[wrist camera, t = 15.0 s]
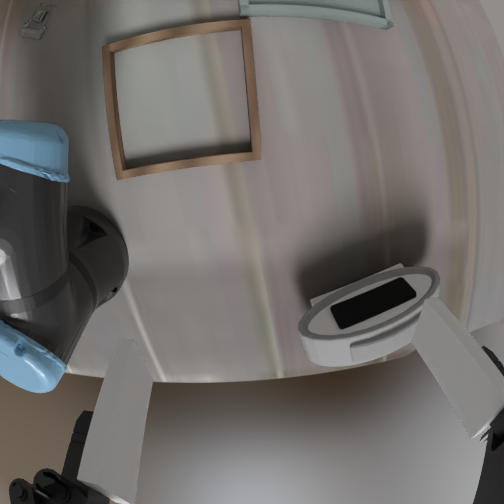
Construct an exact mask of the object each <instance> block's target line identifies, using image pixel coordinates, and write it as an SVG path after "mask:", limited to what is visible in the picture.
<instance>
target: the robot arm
mask: <svg viewBox="0 0 504 504" xmlns="http://www.w3.org/2000/svg"><path fill="white" fill-rule="evenodd" d="M68 152H69V140H68V136H67V134H66V132H65V131H64V130H63V129H62V128H61V127H60V126H58V125H55V124H50V123H42V122H32V121H18V120H0V375H1V376H2V377H4V378H5V379H7V380H8V381H9V382H11V383H13V384H15V385H16V386H18V387H21V388H23V389H25V390H28V391H31V392H36V393H44V392H48V391H51V390H53V389H54V388H55V386H56V385H57V383H58V381H59V380H60V378H61V377H62V375H63V373H64V372H65V371H66V369H67V367H66V366H67V364H68V362H69V359H70V357H71V355H72V353H73V351H74V349H75V347H76V345H77V343H78V341H79V339H80V337H81V335H82V333H83V331H84V329H85V327H86V325H87V323H88V321H89V319H90V317H91V315H92V313H93V311H94V310H95V309H97V308H98V307H100V306H101V305H103V304H104V303H106V302H107V301H108V300H110V299H111V298H113V297H114V296H115V295H116V294H117V292H118V291H119V290H120V288H121V286H122V284H123V282H124V280H125V278H126V276H127V272H128V265H129V260H128V253H127V249H126V245H125V243H124V240H123V238H122V236H121V235H120V233H119V231H118V230H117V229H116V227H115V226H114V225H113V224H112V223H111V222H110V221H109V220H108V219H107V218H106V217H105V216H103V215H102V214H100V213H99V212H97V211H95V210H93V209H90V208H87V207H81V206H73V207H68V208H67V196H68V182H69V181H70V175H69V174H68ZM411 342H412V344H413V345H414V347H415V348H416V349H417V351H418V352H419V354H420V355H421V357H422V358H423V360H424V361H425V363H426V365H427V366H428V368H429V369H430V371H431V372H432V374H433V375H434V377H435V378H436V380H437V381H438V383H439V385H440V387H441V388H442V390H443V391H444V393H445V395H446V396H447V398H448V400H449V401H450V403H451V405H452V406H453V408H454V410H455V412H456V413H457V415H458V417H459V419H460V420H461V422H462V424H463V426H464V428H465V429H466V431H467V433H468V435H469V437H470V439H471V438H473V437H475V436H476V435H478V434H480V433H481V432H482V431H483V430H484V429H485V428H486V427H487V426H488V425H489V424H490V426H491V428H490V429H489V430H488V431H487V432H486V433H485V434H484V435H483V436H482V437H481V440H480V442H482V441H483V440H484V439H485V438H486V437H487V436H488V438H487V439H486V440H485V441H484V442H485V443H487V446H486V452H485V457H484V462H483V467H482V472H481V476H480V480H479V484H478V488H477V492H476V495H475V499H474V502H473V504H504V367H503V365H502V363H501V362H500V361H498V358H497V357H496V356H495V355H494V353H493V352H492V351H490V350H489V349H488V348H486V347H485V346H483V347H480V345H479V344H478V343H477V342H476V341H475V339H474V338H473V337H472V336H471V335H470V333H469V332H468V331H467V330H466V329H465V328H464V326H463V325H462V324H461V323H460V322H459V321H458V320H457V318H456V317H455V316H454V315H453V314H452V313H451V312H450V311H449V310H448V308H447V307H446V306H445V305H444V304H443V303H442V302H441V301H440V300H439V299H438V298H437V297H432V298H428V299H425V301H424V304H423V307H422V311H421V314H420V317H419V320H418V323H417V326H416V329H415V332H414V335H413V337H412V340H411ZM152 383H153V378H152V376H151V374H150V372H149V370H148V368H147V366H146V364H145V361H144V359H143V357H142V355H141V353H140V351H139V349H138V346H137V344H136V342H135V340H134V339H118V342H117V345H116V347H115V350H114V353H113V356H112V358H111V361H110V364H109V367H108V370H107V373H106V375H105V378H104V381H103V384H102V388H101V391H100V394H99V397H98V400H97V404H96V407H95V410H94V412H92V411H83V413H82V414H81V415H80V416H79V418H78V419H77V421H76V424H75V427H74V433H73V434H72V437H71V442H70V444H69V448H68V451H67V455H66V459H65V463H64V467H63V471H62V474H61V475H60V474H58V473H57V472H55V471H54V470H52V469H48V468H46V469H42V470H40V471H39V472H37V474H36V475H35V477H34V482H33V484H30V483H28V482H27V481H25V480H24V479H20V478H18V479H15V480H14V481H12V483H11V485H10V487H9V494H10V501H11V504H109V501H110V499H111V500H113V501H115V502H116V503H121V504H135V502H136V491H137V482H138V473H139V464H140V457H141V450H142V443H143V435H144V429H145V423H146V417H147V411H148V405H149V399H150V394H151V389H152Z"/></svg>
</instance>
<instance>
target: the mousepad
mask: <svg viewBox="0 0 504 504" xmlns="http://www.w3.org/2000/svg"><path fill="white" fill-rule="evenodd" d="M40 5H48V4H40ZM40 5H39V6H40ZM50 6H56V5H50ZM56 7H57V6H56ZM56 7H55V8H56ZM38 8H39V7H38ZM38 8H37V10H38ZM55 8H54V10H55ZM37 10H36V11H37ZM54 10H53V11H54ZM36 11H35V13H36V14H35V13H34V15H35V16H34V15H33V16H34V17H33V16H32V18H33V19H34V20H33V21H35V22H41V21H42V18H43V17H44V15H45V13H46V12H47V11H44V10H39V11H37V12H36ZM52 13H53V12H52ZM52 13H51V15H52ZM46 14H47V13H46ZM51 15H50V16H51ZM32 18H31V20H32ZM49 18H50V17H49ZM49 18H48V20H49ZM31 20H30V21H31ZM48 20H47V21H48ZM30 21H28V23H25V24H24V26H23V29H22V30H21V31H20V36H25V37H30V38H35V39H40V38H41V37H42V35H43V33H44V31H45V29H46V27H45V25H46V24H45V25H44V26H42V28H41V30H40V31H39V30H34V29H28V28H27V27H28V25H29V23H30ZM41 23H42V22H41ZM46 23H47V22H46Z"/></svg>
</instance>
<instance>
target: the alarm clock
mask: <svg viewBox="0 0 504 504" xmlns="http://www.w3.org/2000/svg"><path fill="white" fill-rule="evenodd" d="M439 289H440V276H439V274H438V273H437V271H435V270H434V269H432V268H429V267H422V266H416V267H405V268H404V267H403V265H402V264H401V263H399V264H397V265H395V266H392V267H390V268H388V269H385V270H383V271H381V272H378V273H376V274H374V275H371V276H369V277H366V278H364V279H361V280H359V281H356V282H354V283H352V284H349V285H347V286H344V287H341V288H339V289H336V290H334V291H331V292H329V293H326V294H323V295H321V296H318V297H315V298H313V299H310V302H311V305H312V308H311V309H310V310H308V311H307V312H306V313H305V314H304V316H303V317H302V319H301V320H300V322H299V325H298V332H299V335H300V338H301V341H302V343H303V346H304V349H305V352H306V354H307V357H308V358H309V359H310V360H311V362H313V363H316V364H318V365H321V366H331V367H339V366H349V365H355V364H359V363H363V362H367V361H371V360H374V359H377V358H379V357H382V356H384V355H387V354H389V353H392V352H393V351H395V350H397V349H399V348H401V347H403V346H404V345H406V344H408V343H409V342H411V340H412V337H413V335H414V332H415V329H416V326H417V323H418V320H419V317H420V314H421V311H422V307H423V304H424V301H425V299H428V298H432V297H437V298H438V299H439Z"/></svg>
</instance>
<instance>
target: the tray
mask: <svg viewBox="0 0 504 504" xmlns="http://www.w3.org/2000/svg"><path fill="white" fill-rule="evenodd" d="M238 3H239V13H240V17H253V16H286V17H306V18H318V19H328V20H336V21H343V22H350V23H356V24H362V25H367V26H372V27H377V28H381V29H386V30H387V29H389V28H391V27H393V21H392V16H391V11H390V6H389V1H388V0H238Z"/></svg>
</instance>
